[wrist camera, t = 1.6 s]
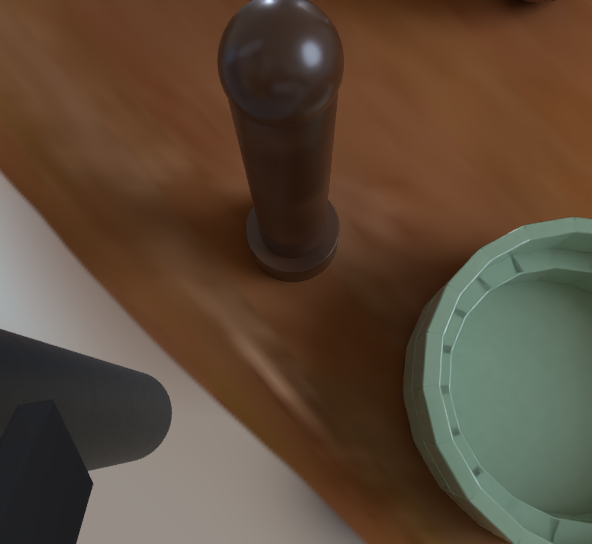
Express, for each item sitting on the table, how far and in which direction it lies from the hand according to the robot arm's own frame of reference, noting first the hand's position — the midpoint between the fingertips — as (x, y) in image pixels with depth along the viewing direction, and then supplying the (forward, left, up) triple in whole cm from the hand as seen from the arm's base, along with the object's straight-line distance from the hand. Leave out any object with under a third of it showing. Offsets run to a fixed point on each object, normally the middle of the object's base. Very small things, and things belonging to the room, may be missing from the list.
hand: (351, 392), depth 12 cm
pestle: (0, +10, -17) cm, 19 cm away
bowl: (+12, -1, -17) cm, 20 cm away
